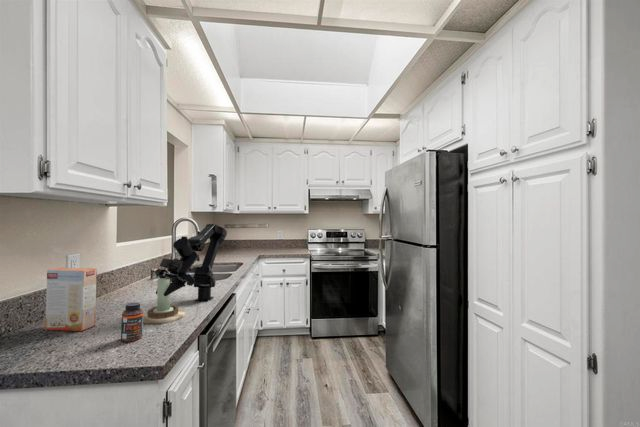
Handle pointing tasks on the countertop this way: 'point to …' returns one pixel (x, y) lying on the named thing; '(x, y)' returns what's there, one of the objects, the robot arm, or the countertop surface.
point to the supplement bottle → (132, 322)
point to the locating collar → (163, 316)
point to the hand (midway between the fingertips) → (160, 294)
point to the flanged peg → (162, 300)
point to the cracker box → (70, 299)
